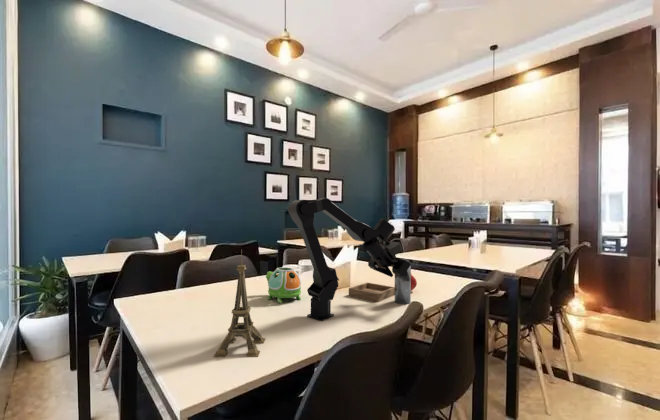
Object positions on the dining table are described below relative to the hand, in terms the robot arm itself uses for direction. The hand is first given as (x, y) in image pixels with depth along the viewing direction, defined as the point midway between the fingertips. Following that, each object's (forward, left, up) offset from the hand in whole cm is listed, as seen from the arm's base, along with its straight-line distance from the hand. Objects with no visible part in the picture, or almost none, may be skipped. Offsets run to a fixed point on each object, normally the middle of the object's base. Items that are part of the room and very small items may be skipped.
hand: (400, 278), depth 123 cm
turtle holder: (-25, +39, -9) cm, 47 cm away
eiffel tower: (-63, +13, -9) cm, 65 cm away
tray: (+2, +14, -9) cm, 17 cm away
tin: (+1, 0, -9) cm, 9 cm away
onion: (+18, +5, -9) cm, 21 cm away
